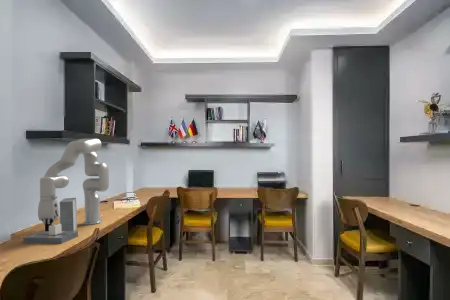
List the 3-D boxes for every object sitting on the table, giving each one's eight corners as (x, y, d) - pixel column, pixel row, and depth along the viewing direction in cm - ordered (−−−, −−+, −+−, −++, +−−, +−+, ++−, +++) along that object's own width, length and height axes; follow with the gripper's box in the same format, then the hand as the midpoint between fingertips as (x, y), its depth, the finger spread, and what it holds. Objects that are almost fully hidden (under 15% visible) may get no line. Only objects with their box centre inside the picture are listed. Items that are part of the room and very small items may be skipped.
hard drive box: (64, 228, 188) (63, 198, 189) (77, 227, 191) (76, 197, 192) (59, 234, 174) (59, 201, 174) (73, 233, 177) (73, 200, 177)
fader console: (42, 235, 172) (42, 230, 172) (78, 236, 169) (78, 230, 169) (23, 243, 158) (23, 237, 158) (61, 243, 155) (61, 237, 155)
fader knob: (55, 232, 166) (55, 223, 166) (61, 232, 165) (61, 223, 165) (48, 235, 161) (48, 225, 161) (55, 235, 160) (55, 225, 160)
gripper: (64, 197, 167) (64, 229, 166) (41, 197, 169) (41, 228, 168) (55, 199, 159) (55, 232, 159) (30, 199, 161) (31, 232, 161)
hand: (48, 230), depth 164 cm, fingers closed
